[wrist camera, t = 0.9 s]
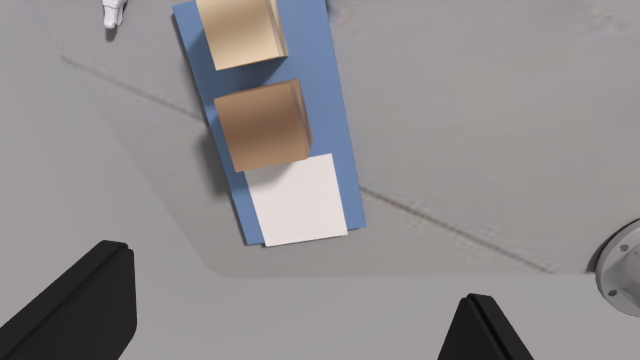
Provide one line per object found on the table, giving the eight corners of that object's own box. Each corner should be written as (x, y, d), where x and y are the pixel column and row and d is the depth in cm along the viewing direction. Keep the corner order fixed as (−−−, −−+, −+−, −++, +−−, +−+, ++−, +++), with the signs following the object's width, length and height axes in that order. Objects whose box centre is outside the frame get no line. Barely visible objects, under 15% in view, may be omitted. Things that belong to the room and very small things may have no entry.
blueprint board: (366, 226, 37) (366, 231, 36) (251, 244, 38) (248, 249, 37) (319, -29, 29) (318, -32, 28) (177, 7, 30) (171, 6, 29)
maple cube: (288, 55, 30) (278, 56, 26) (235, 67, 31) (216, 70, 26) (274, -7, 29) (261, -18, 24) (218, 7, 29) (195, -1, 25)
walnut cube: (313, 141, 33) (306, 159, 27) (253, 152, 34) (235, 172, 28) (299, 77, 31) (289, 83, 25) (236, 91, 32) (213, 99, 26)
